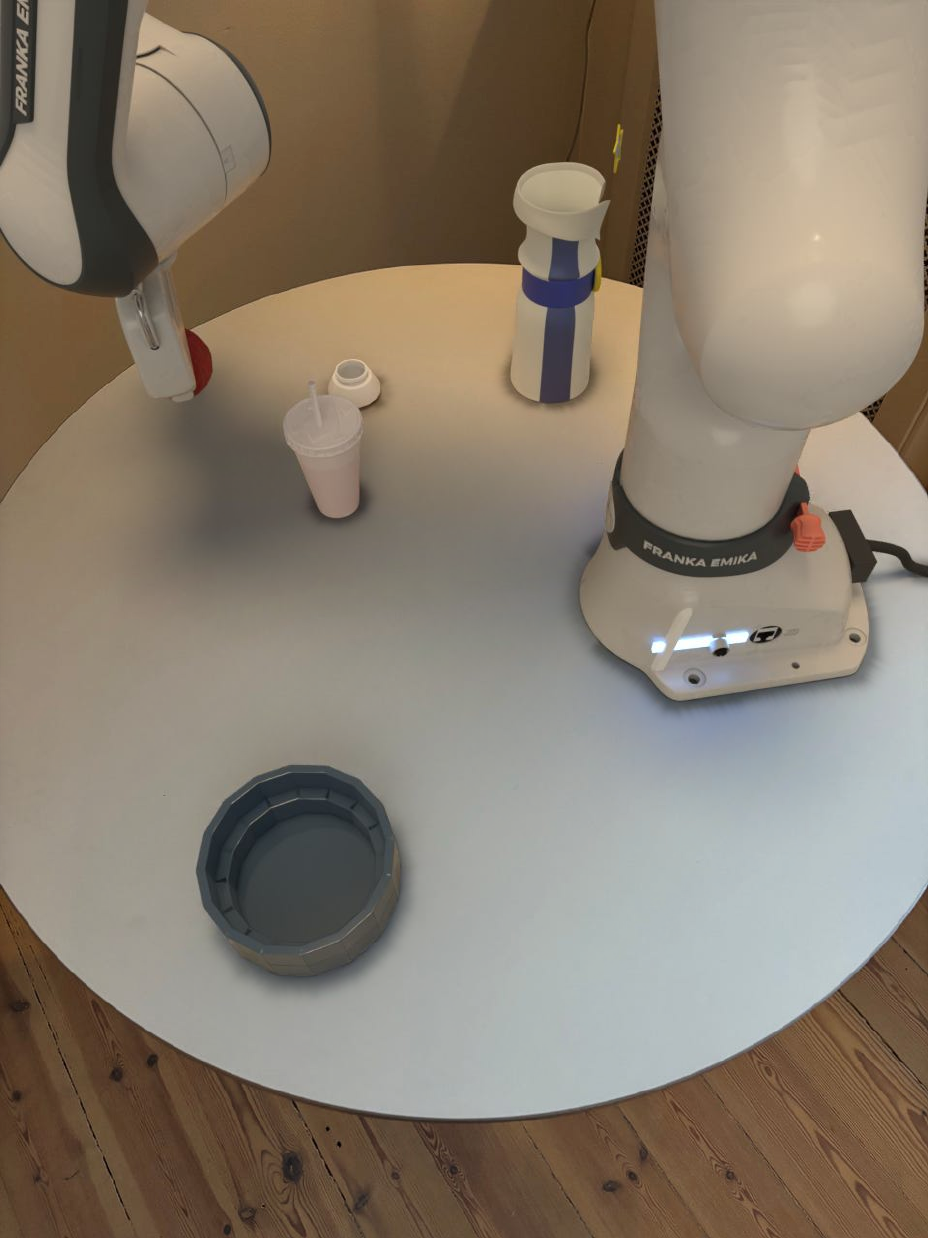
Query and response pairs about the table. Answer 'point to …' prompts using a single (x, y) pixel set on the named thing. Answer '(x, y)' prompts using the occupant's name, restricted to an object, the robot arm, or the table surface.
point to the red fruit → (199, 360)
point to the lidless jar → (354, 382)
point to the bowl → (300, 869)
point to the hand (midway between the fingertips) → (177, 368)
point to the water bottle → (557, 277)
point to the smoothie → (327, 449)
